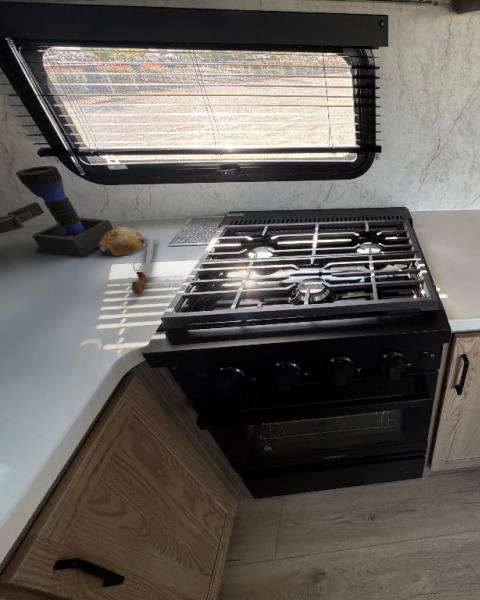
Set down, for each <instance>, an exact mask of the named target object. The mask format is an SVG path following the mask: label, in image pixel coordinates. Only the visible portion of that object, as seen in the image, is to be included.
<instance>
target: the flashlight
mask: <svg viewBox="0 0 480 600" xmlns="http://www.w3.org/2000/svg"><path fill="white" fill-rule="evenodd" d="M15 175H16V177H17V178H18V180H19V181H20V183H21V184H22V185H23V186H24V187H25V188H26V189H27V190H29V192H30V193H32V194H33V195H35V196H36V197H38V198H40V199H42V200H43V204H44V206H45V207H46V208H47V209H48V211H49V214H51V216H52V217H53V219H54V221H55V223H56V224H60V226H61V227H62V229H63V230H64V232H65V233H66V234H67V235H70V236H73V237H74V236H76V235H78V234H80V233H82V232H84V231H85V229H84V227H83V225H82V224H81V222H80V220H79V217H80V216H78V213H77V212H76V209H75V208H74V205H73V204H72V202H71V201H70V198H69V197H68V196H67V195H66V193H65V189H64V188H65V187H64V183H63V179H62V178H63V177H62V175H61V173H60V171H59V169H58V168H57V166H54V165H39V166H32V167H29V168H23V169H20V170H18V171H16V172H15Z"/></svg>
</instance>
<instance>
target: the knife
mask: <svg viewBox="0 0 480 600" xmlns="http://www.w3.org/2000/svg"><path fill="white" fill-rule="evenodd" d="M154 242H155V241H154V239H151V240H150V241H149V242H148V244H147V248H146V257H145V263H144V266H143V268H142V270H140V271H136V272H135V273H136V275H137V278H138V281H132V283H131V290H132V293H134V294H142V293H143V291H144V290H145V287H146V284H147V282H148V276H149V271H150V268H151V263H152V259H153V253H154V246H155V245H154Z"/></svg>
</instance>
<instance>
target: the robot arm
mask: <svg viewBox="0 0 480 600" xmlns="http://www.w3.org/2000/svg"><path fill="white" fill-rule="evenodd" d="M43 214H45V212H44V210H43V208H42V207H41V205H40V204H39V202H36V201H35V202H32V203H30V204H27V205H24V206H22V207H19V208H17V209H14V210H12V211H9V212H7V214H6V215H0V235H1V234H5V233H8V232H11V231H15V230H22V229H23V228H25V225H24V224H23V223H25V222H27V221H29V220H31V219H34V218H37V217H39V216H41V215H43Z"/></svg>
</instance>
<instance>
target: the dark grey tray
mask: <svg viewBox="0 0 480 600" xmlns="http://www.w3.org/2000/svg"><path fill="white" fill-rule="evenodd" d="M79 220H80V222H81V224H82V225H83V227H84V229H85V231H84V232H82V233H80V234H78V235H76V236H74V237H73V236H70V235H67V234H66V233H65V232H64V230H63V229H62V227H61V226H60V224H58V223H56V224H54V225H52V226H49V227H47V228H45V229H43V230H41V231H39V232H37V233H34V234H32V235H31V237H32V238H33V240H34V241H35V243H36V244H37V245H38V247H35V250H36V251H37V252H38V253H44V254H51V255H52V254H53V255H61V256H71V257H80V258H87V257H88V256H90V255H92V254H94V253H95V252H97V251H99V250H101V247H100V244H99V243H100V242H101V240H102V237H103V236H104V235H105V234H106V233H107V232H109V231H110V230H112V229H114V226H113V225H112V223H111V221H110V220H108V219H100V218H99V219H98V218H89V217H80V216H79Z"/></svg>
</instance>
